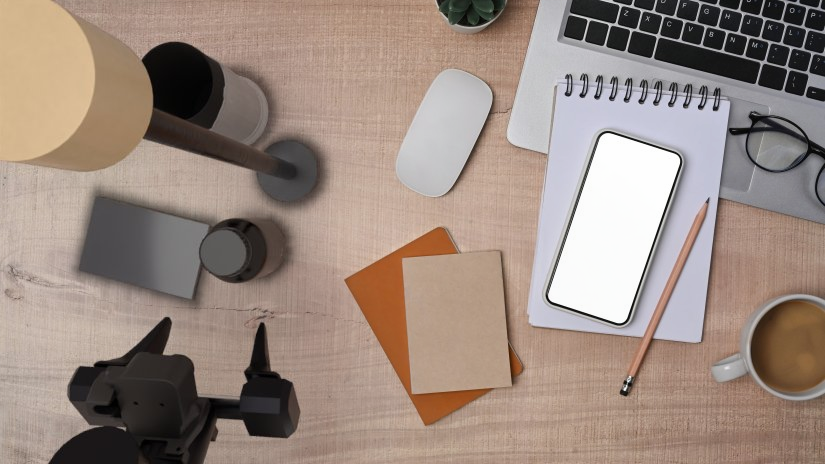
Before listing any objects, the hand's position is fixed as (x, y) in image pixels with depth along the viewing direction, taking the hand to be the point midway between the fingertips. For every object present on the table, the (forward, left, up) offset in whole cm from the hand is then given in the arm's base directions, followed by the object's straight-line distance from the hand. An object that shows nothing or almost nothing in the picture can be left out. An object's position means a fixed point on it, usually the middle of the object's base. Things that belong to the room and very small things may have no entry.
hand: (216, 321), depth 58 cm
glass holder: (+13, +19, -13) cm, 27 cm away
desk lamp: (+14, +7, -13) cm, 20 cm away
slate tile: (-4, +14, -13) cm, 19 cm away
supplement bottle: (+5, +4, -13) cm, 14 cm away
